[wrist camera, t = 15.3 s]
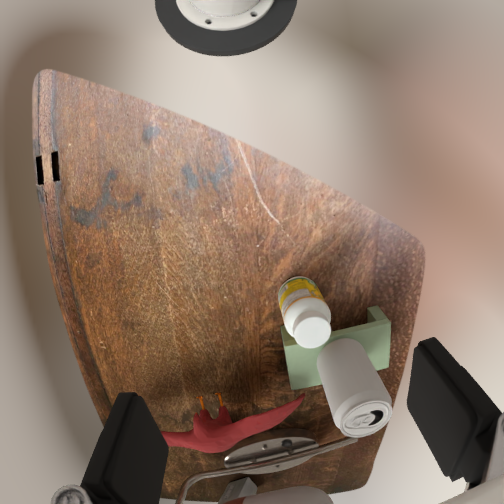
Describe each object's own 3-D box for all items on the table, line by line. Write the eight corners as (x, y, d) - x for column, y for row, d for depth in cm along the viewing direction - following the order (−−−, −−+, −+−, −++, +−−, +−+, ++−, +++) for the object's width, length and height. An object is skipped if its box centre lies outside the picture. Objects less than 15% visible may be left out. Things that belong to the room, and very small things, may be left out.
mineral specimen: (239, 471, 53) (245, 505, 46) (259, 481, 57) (266, 512, 50) (208, 481, 53) (212, 513, 46) (230, 490, 57) (236, 520, 50)
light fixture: (386, 530, 31) (182, 563, 34) (355, 439, 52) (191, 477, 54) (384, 509, 28) (147, 544, 31) (347, 405, 49) (165, 449, 51)
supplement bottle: (272, 283, 41) (280, 320, 32) (312, 269, 41) (331, 302, 32) (284, 317, 43) (295, 359, 34) (322, 304, 42) (341, 343, 33)
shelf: (377, 305, 43) (391, 322, 38) (377, 348, 45) (388, 367, 40) (280, 325, 43) (284, 346, 38) (287, 368, 45) (291, 390, 41)
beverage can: (361, 369, 40) (391, 431, 29) (315, 378, 40) (335, 445, 29) (363, 330, 38) (400, 391, 27) (314, 339, 38) (338, 407, 27)
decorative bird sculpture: (300, 373, 51) (297, 369, 38) (314, 424, 47) (316, 439, 34) (148, 405, 53) (102, 405, 39) (158, 451, 49) (114, 465, 35)
